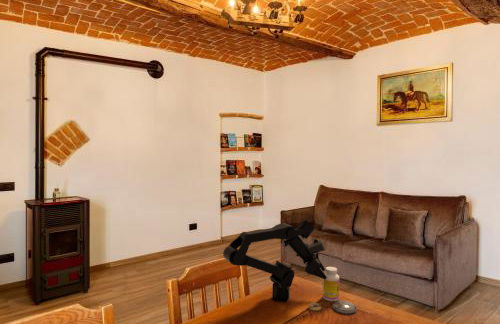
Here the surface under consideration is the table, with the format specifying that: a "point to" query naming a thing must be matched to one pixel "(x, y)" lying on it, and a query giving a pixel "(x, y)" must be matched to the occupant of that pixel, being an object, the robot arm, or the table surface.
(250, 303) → the table surface
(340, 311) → the flange pad
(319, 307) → the small brass flange
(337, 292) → the supplement bottle
